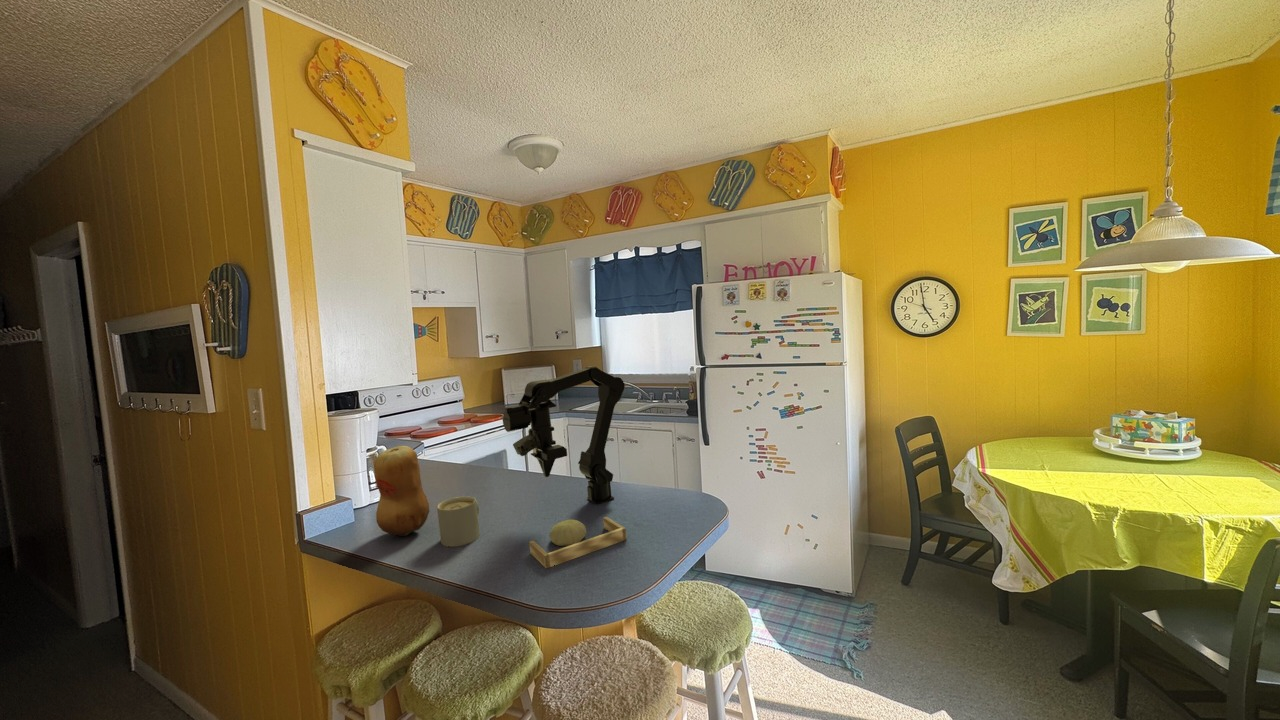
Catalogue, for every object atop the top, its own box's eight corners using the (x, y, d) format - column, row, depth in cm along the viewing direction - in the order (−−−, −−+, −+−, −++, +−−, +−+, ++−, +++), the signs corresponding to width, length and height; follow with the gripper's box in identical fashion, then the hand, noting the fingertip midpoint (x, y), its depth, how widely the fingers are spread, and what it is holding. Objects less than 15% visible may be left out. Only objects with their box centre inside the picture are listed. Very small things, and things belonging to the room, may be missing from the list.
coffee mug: (459, 549, 131) (455, 512, 130) (433, 543, 136) (428, 507, 135) (496, 528, 143) (492, 493, 142) (470, 523, 148) (466, 490, 147)
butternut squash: (368, 542, 140) (356, 454, 138) (404, 522, 153) (394, 441, 150) (408, 545, 136) (397, 455, 133) (442, 525, 148) (432, 441, 146)
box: (607, 527, 137) (606, 516, 137) (626, 539, 129) (625, 528, 129) (530, 553, 126) (529, 541, 125) (546, 568, 117) (545, 556, 117)
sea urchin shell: (543, 531, 134) (562, 506, 135) (566, 546, 136) (585, 522, 138) (549, 544, 125) (569, 518, 127) (573, 561, 128) (593, 534, 129)
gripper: (502, 425, 150) (509, 476, 151) (527, 435, 134) (534, 492, 136) (537, 418, 156) (543, 467, 158) (565, 426, 141) (570, 481, 142)
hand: (546, 476), depth 148 cm, fingers closed
